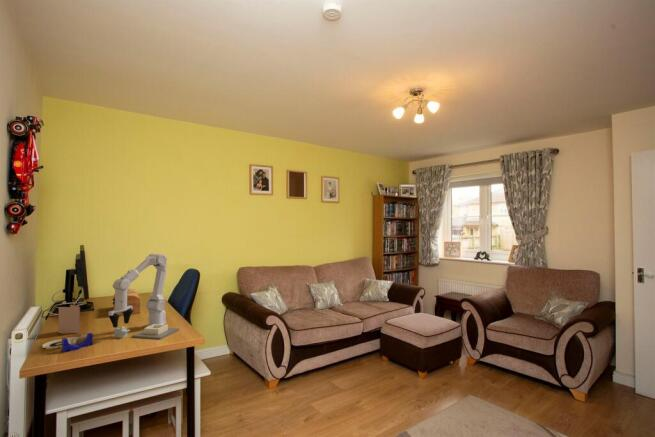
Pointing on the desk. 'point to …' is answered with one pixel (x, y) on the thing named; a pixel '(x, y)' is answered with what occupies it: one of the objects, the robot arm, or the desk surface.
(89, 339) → the blue cradle holder
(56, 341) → the light piece
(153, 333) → the pocket plate
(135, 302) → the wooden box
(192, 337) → the desk surface
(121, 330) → the block
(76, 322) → the greeting card
